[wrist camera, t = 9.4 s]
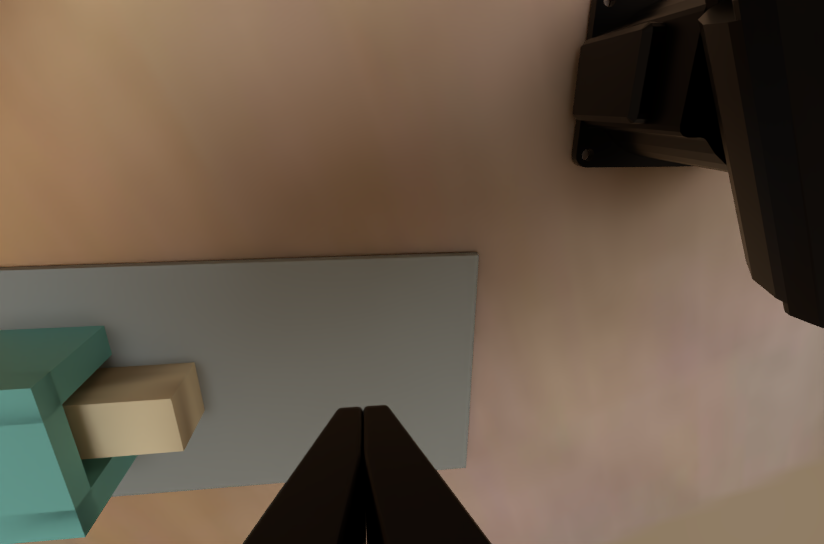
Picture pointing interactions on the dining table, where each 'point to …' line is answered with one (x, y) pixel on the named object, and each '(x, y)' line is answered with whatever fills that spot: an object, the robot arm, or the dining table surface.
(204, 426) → the mat
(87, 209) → the dining table surface
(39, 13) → the dining table surface
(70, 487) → the teal faceted block
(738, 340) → the dining table surface
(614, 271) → the dining table surface
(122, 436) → the long wooden beam
